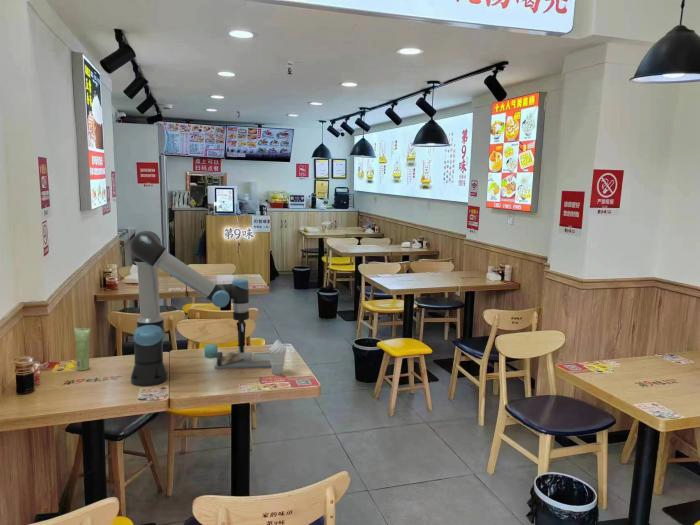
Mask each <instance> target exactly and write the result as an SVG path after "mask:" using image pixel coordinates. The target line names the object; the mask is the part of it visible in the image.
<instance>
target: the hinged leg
mask: <svg viewBox="0 0 700 525" xmlns="http://www.w3.org/2000/svg"><path fill="white" fill-rule="evenodd" d="M222 354H223V355H222ZM239 360H243V359H239V350H235V351H232V352H228V353H223V352H222V351H219V352H218V353H217V357H216V362H217V365H225V364H228V363H232V362H236V361H239Z"/></svg>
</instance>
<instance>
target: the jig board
mask: <svg viewBox="0 0 700 525" xmlns="http://www.w3.org/2000/svg"><path fill="white" fill-rule="evenodd" d="M223 354H224V353H222V355H223ZM214 369H215V370H230V369H231V370H232V369H233V370H236V369H238V370H239V369H240V370H241V369H272V368H271V363H270V354H269V351H263V352H262V351H258V352H257V351H256V352H255V351H254V352H245V359H243V360H239V361H236V362H232V363H228V364H225V365H217V361H216V362H215V365H214Z"/></svg>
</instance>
